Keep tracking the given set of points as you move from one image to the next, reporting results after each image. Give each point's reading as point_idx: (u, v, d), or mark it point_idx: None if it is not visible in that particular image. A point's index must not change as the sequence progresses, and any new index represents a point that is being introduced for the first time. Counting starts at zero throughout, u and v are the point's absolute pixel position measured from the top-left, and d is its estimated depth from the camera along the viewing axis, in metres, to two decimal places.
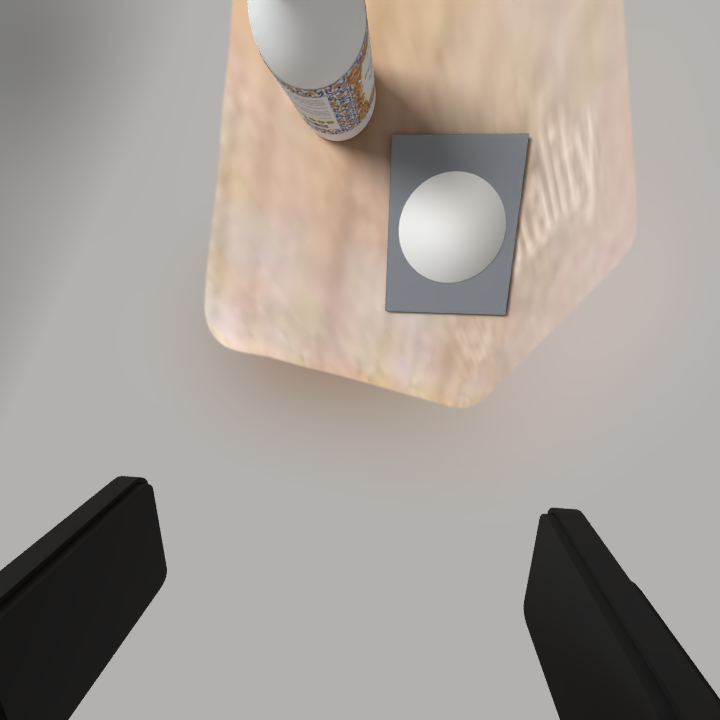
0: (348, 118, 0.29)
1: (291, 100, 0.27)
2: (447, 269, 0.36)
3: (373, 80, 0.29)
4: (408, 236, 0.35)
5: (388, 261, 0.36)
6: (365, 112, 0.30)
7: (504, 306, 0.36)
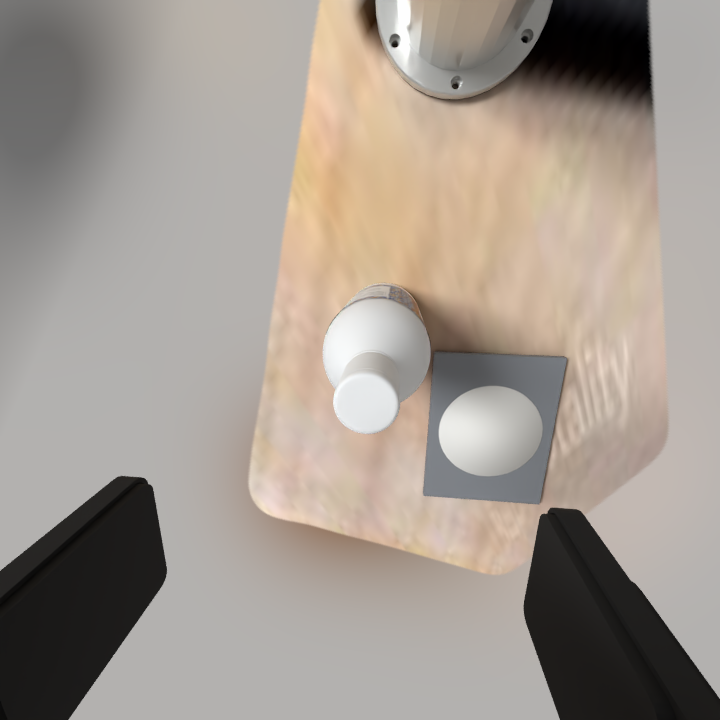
0: None
1: None
2: (484, 464, 0.37)
3: None
4: (448, 436, 0.37)
5: (428, 456, 0.38)
6: None
7: (538, 497, 0.38)
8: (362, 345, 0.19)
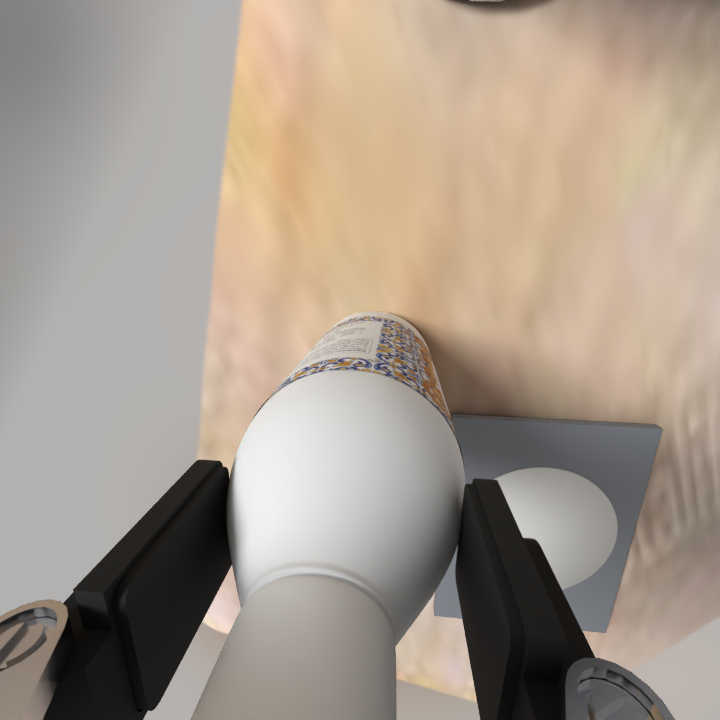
0: None
1: None
2: None
3: None
4: None
5: None
6: None
7: (605, 623, 0.26)
8: (290, 540, 0.07)
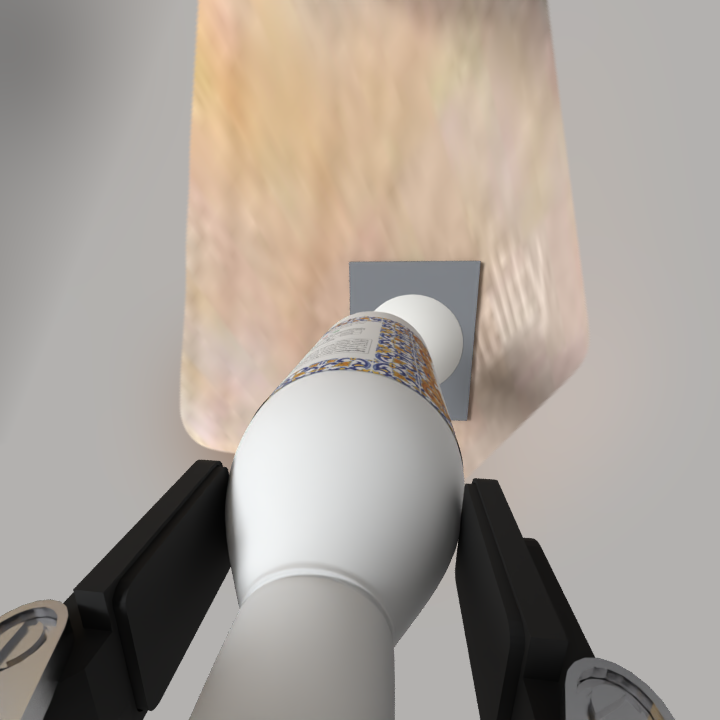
0: None
1: None
2: None
3: None
4: None
5: None
6: None
7: (465, 413, 0.38)
8: (288, 541, 0.07)
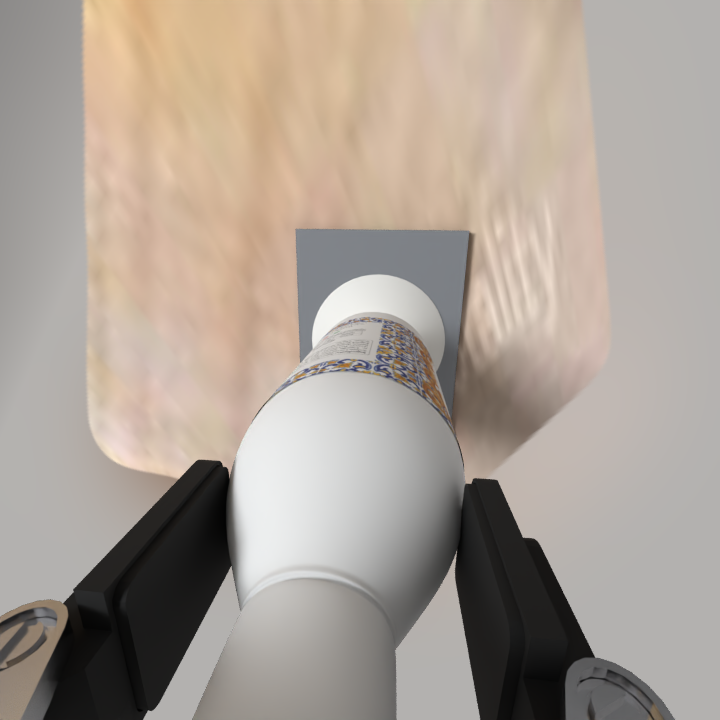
0: None
1: None
2: None
3: None
4: None
5: None
6: None
7: None
8: (290, 543, 0.07)
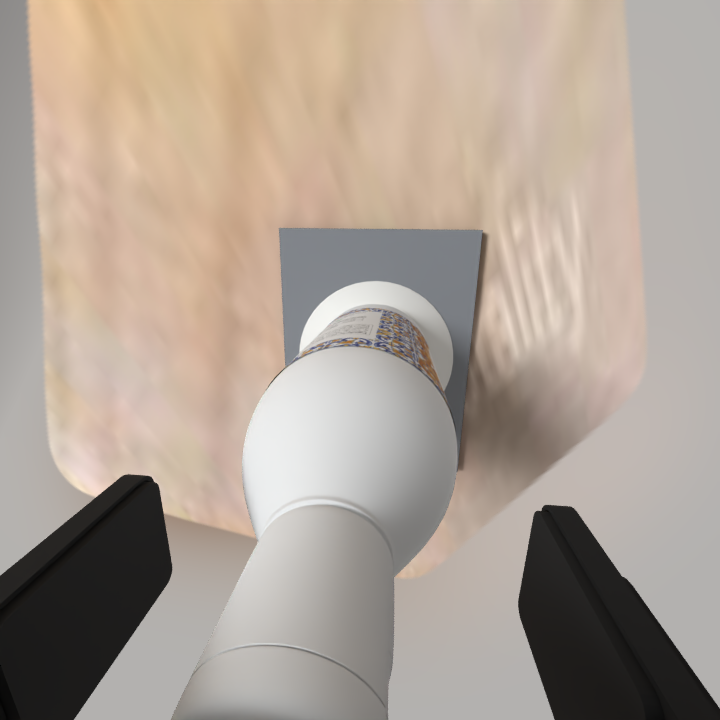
0: None
1: None
2: None
3: None
4: None
5: None
6: None
7: None
8: (302, 480, 0.08)
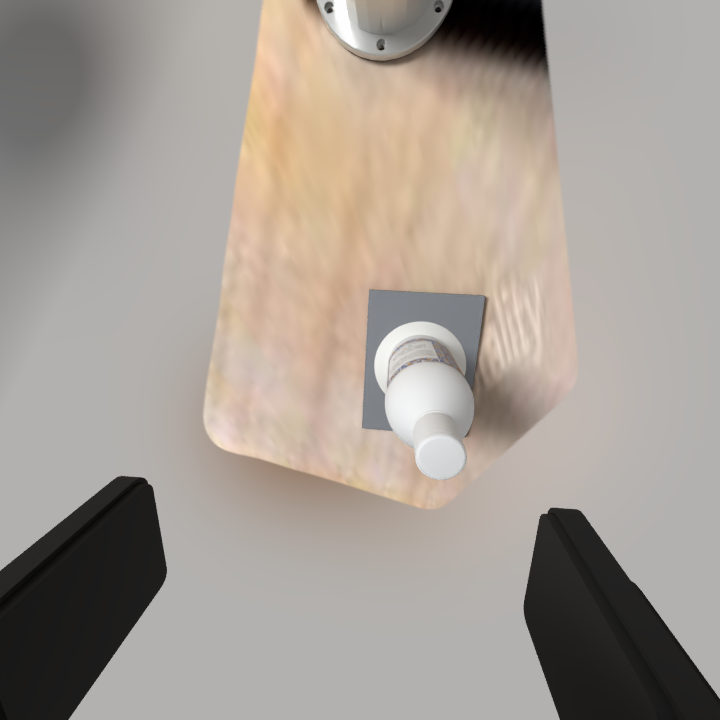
0: None
1: None
2: None
3: None
4: (382, 370, 0.41)
5: (365, 389, 0.41)
6: None
7: None
8: (427, 406, 0.24)
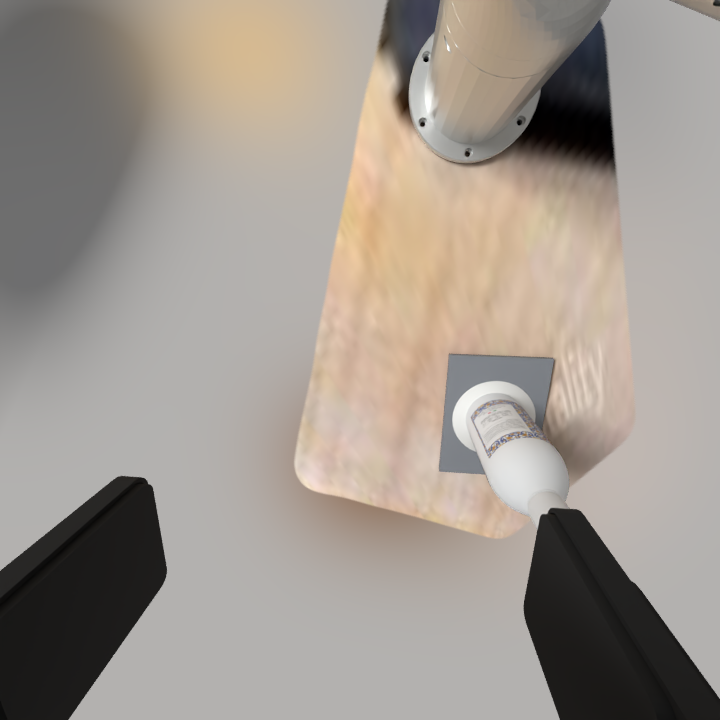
0: None
1: None
2: None
3: None
4: (459, 422, 0.46)
5: (443, 438, 0.47)
6: None
7: None
8: (538, 485, 0.29)
